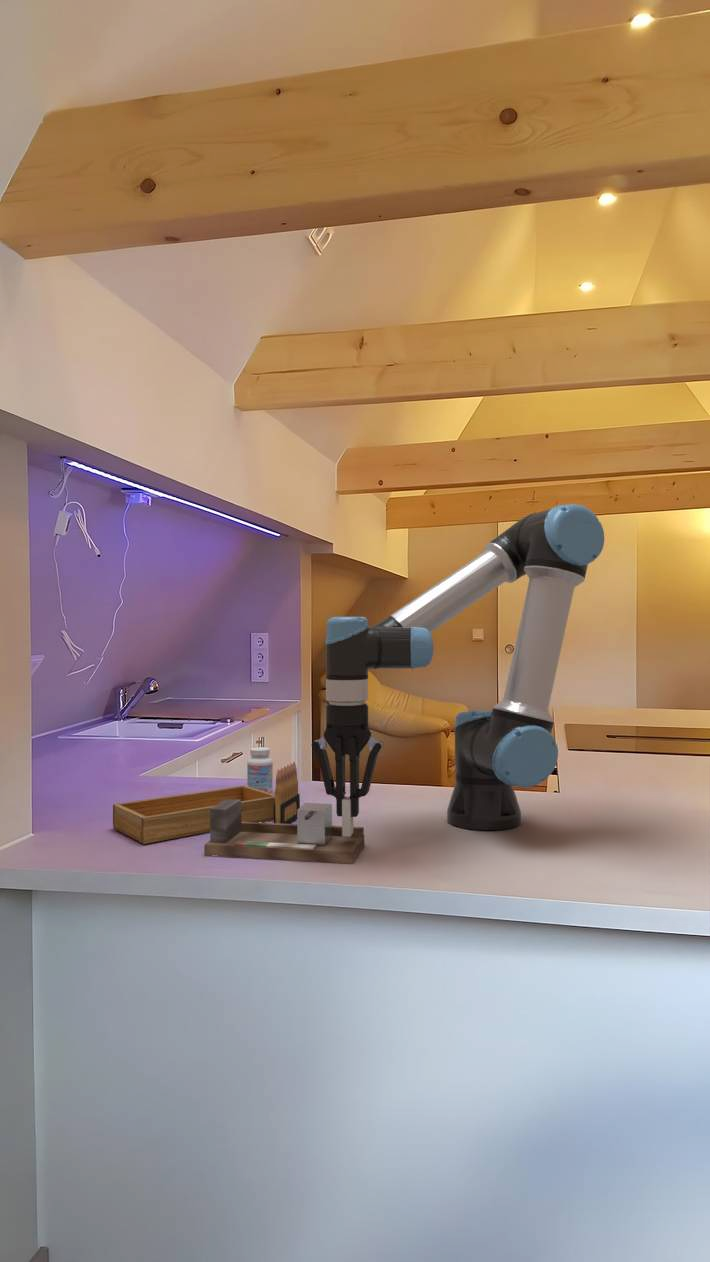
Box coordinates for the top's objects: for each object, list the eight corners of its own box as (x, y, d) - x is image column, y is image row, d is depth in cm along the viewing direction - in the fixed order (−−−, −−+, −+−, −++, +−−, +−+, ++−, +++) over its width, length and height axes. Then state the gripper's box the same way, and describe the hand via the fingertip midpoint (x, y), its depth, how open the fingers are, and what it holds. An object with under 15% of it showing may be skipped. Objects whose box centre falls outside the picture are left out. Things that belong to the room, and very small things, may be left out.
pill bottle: (244, 797, 185) (243, 750, 185) (251, 792, 191) (251, 746, 191) (268, 798, 184) (268, 750, 184) (275, 792, 190) (275, 746, 190)
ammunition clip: (281, 830, 156) (281, 770, 156) (273, 829, 156) (272, 769, 156) (300, 817, 166) (299, 761, 166) (292, 816, 167) (291, 760, 166)
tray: (244, 808, 176) (244, 783, 176) (281, 821, 165) (280, 794, 164) (112, 831, 157) (112, 803, 157) (143, 848, 145) (143, 818, 145)
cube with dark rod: (332, 836, 142) (331, 803, 142) (320, 849, 134) (320, 815, 134) (305, 835, 144) (305, 802, 143) (292, 848, 135) (292, 814, 135)
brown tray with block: (364, 845, 144) (364, 802, 144) (352, 863, 133) (351, 817, 133) (227, 838, 150) (226, 797, 149) (204, 855, 139) (204, 810, 139)
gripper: (386, 701, 141) (387, 830, 141) (316, 700, 144) (317, 827, 144) (379, 705, 134) (380, 842, 134) (306, 704, 136) (307, 838, 137)
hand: (347, 834), depth 139 cm, fingers closed
